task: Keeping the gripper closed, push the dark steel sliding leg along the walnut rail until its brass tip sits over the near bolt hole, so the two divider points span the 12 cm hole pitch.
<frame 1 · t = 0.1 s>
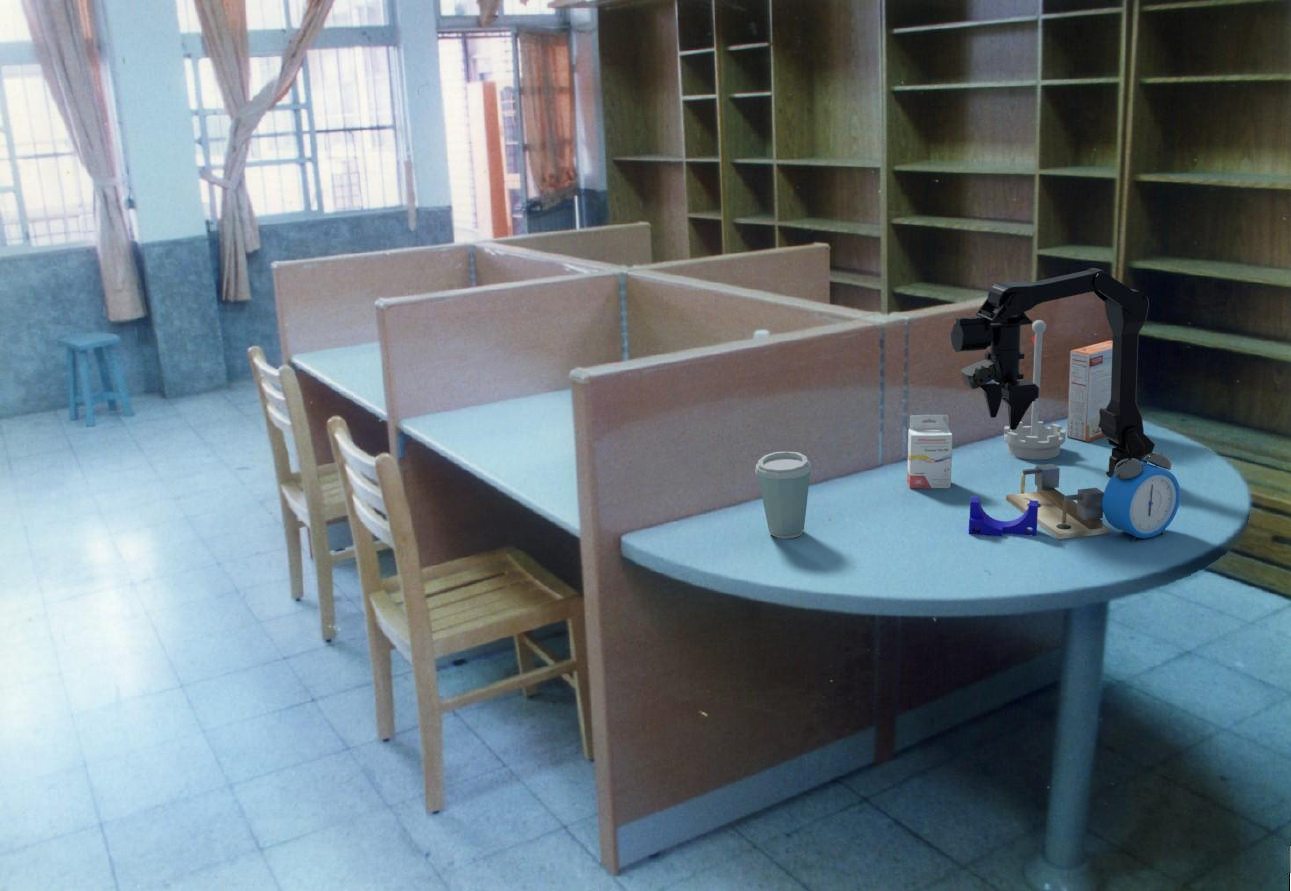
hand: (1002, 423, 238), 14 cm above the table, tool pointing down, fingers open, 9 cm apart
hole plate: (1055, 515, 228), on the table
cracker box: (1095, 434, 276), on the table
disposable coffee cup: (784, 534, 227), on the table
ink cartridge box: (929, 485, 249), on the table
alarm clock: (1138, 534, 217), on the table
blue cradle bracket: (1002, 534, 222), on the table
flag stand: (1033, 452, 266), on the table
sliding leg: (1038, 479, 235), point 4 cm above the table, slide at -5.0 cm
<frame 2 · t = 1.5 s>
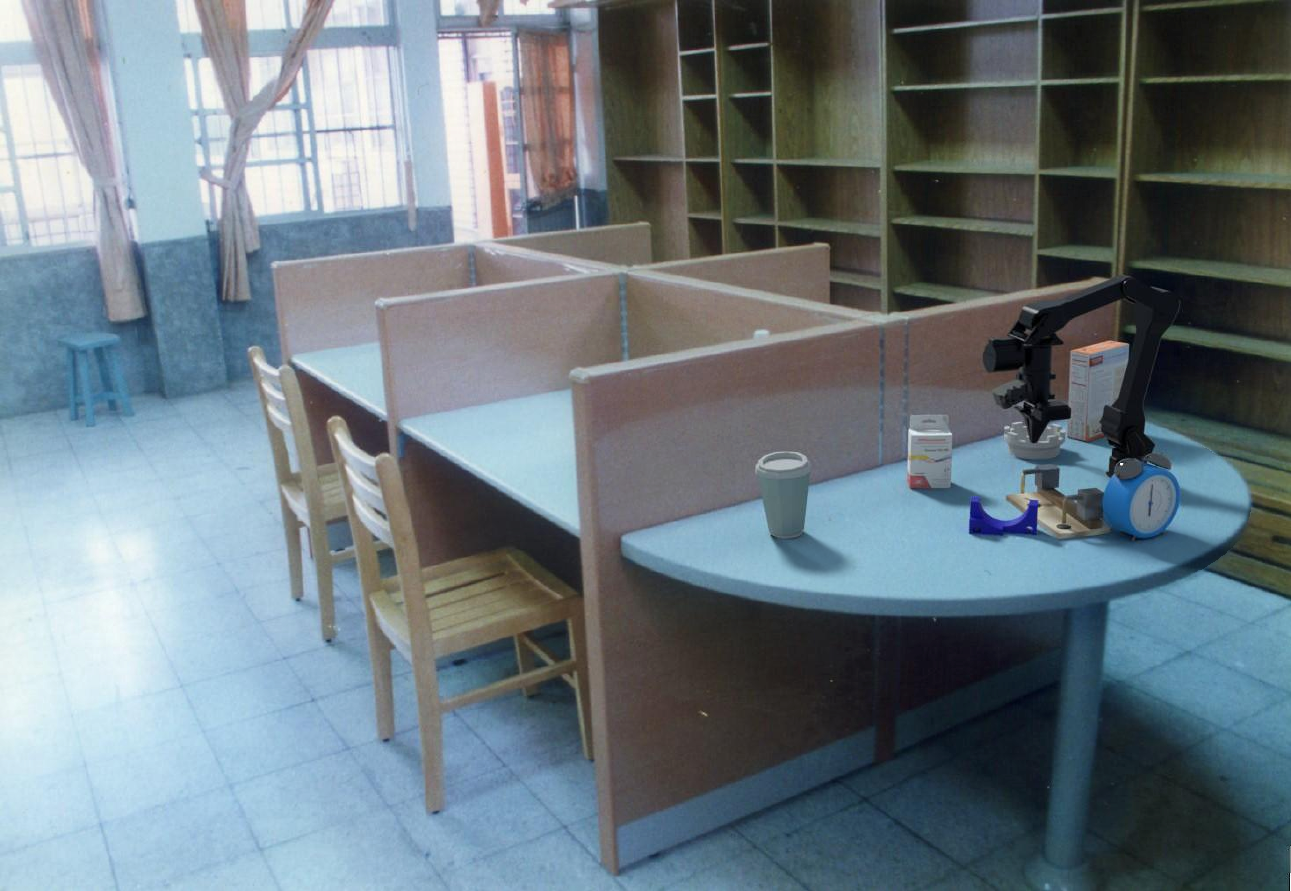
hand: (1033, 442, 240), 10 cm above the table, tool pointing down, fingers closed
nothing on the table moved.
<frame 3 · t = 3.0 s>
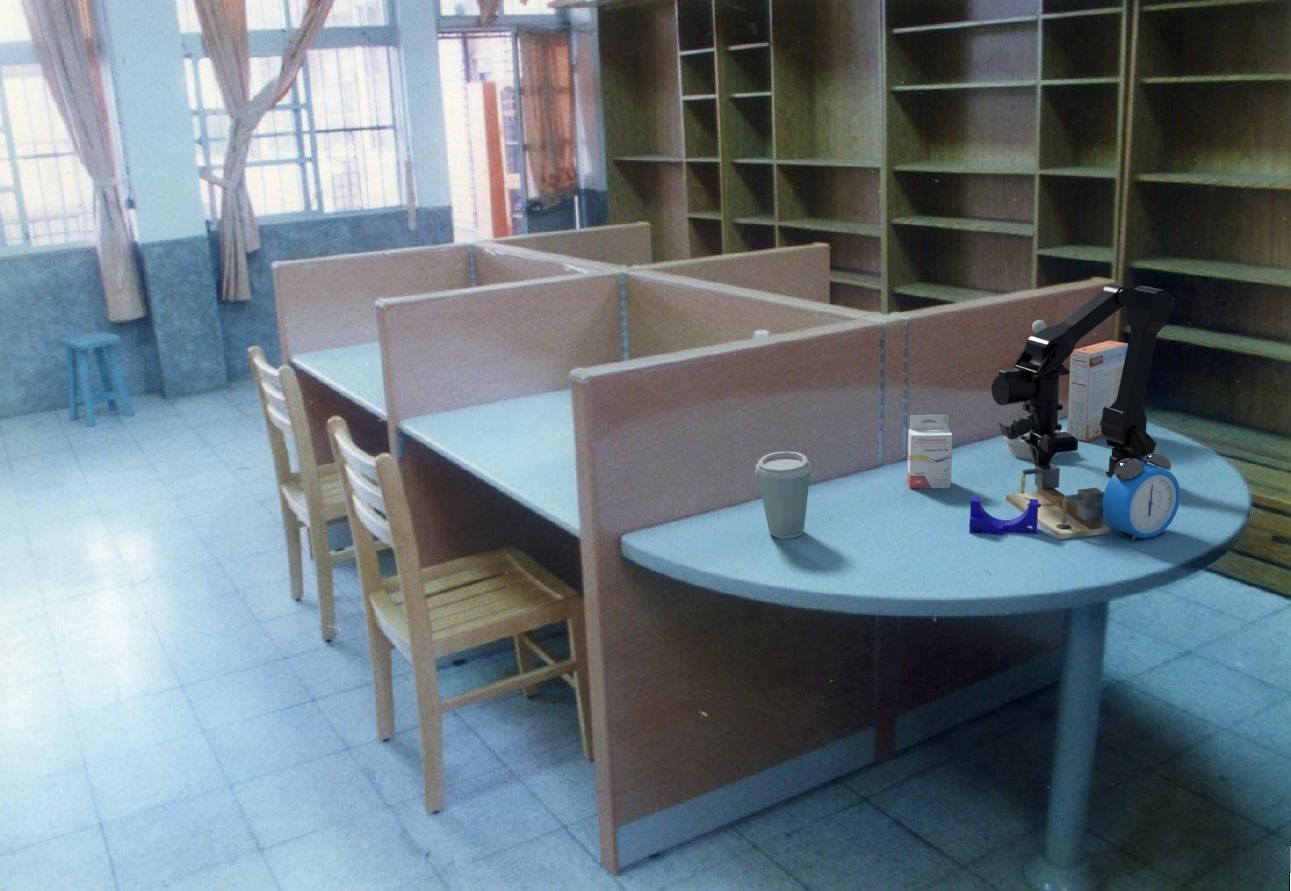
hand: (1040, 473, 238), 5 cm above the table, tool pointing down, fingers closed
sliding leg: (1038, 479, 235), point 4 cm above the table, slide at -5.0 cm, touching gripper
everything else where it was.
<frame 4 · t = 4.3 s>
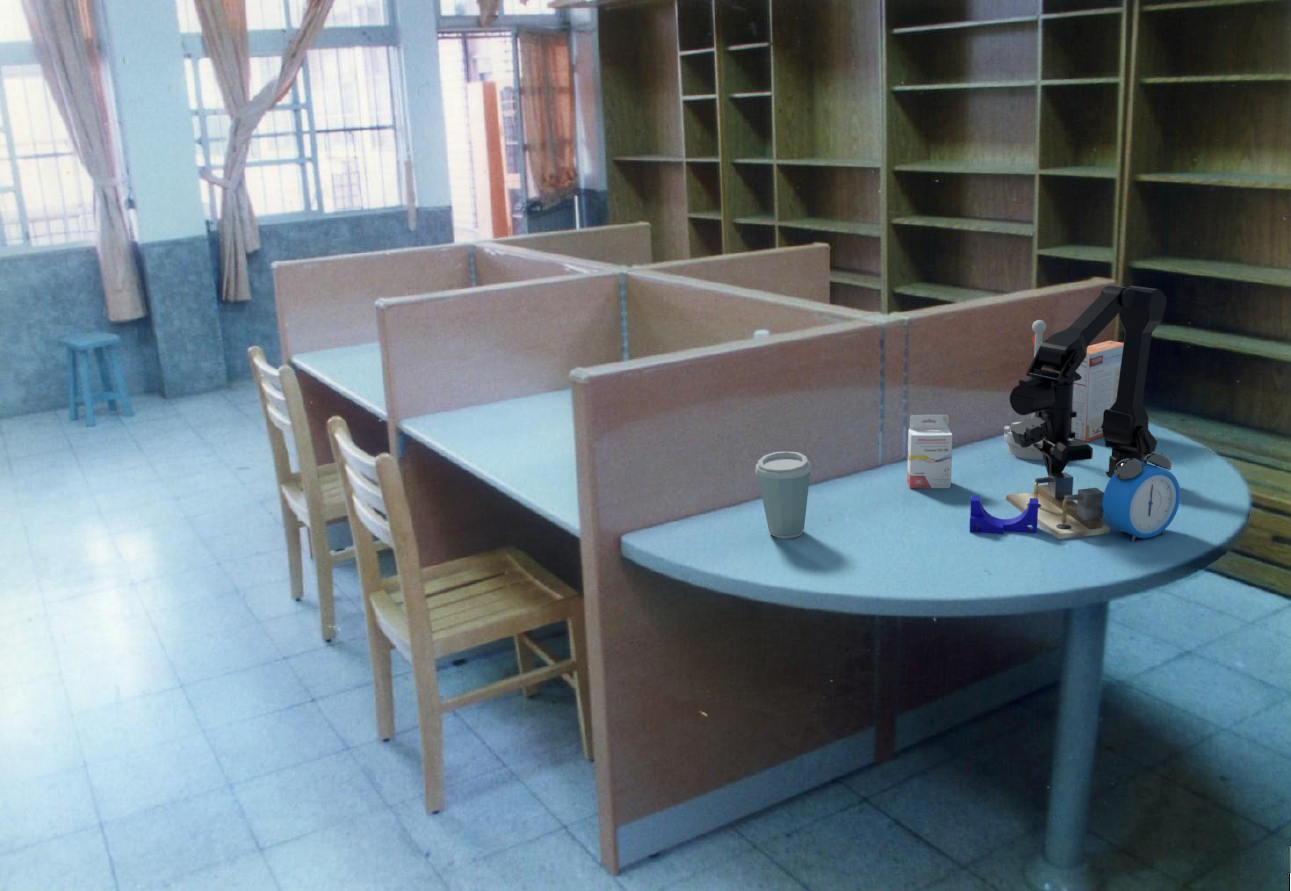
hand: (1052, 481, 233), 5 cm above the table, tool pointing down, fingers closed
sliding leg: (1051, 488, 230), point 4 cm above the table, slide at 0.5 cm, touching gripper
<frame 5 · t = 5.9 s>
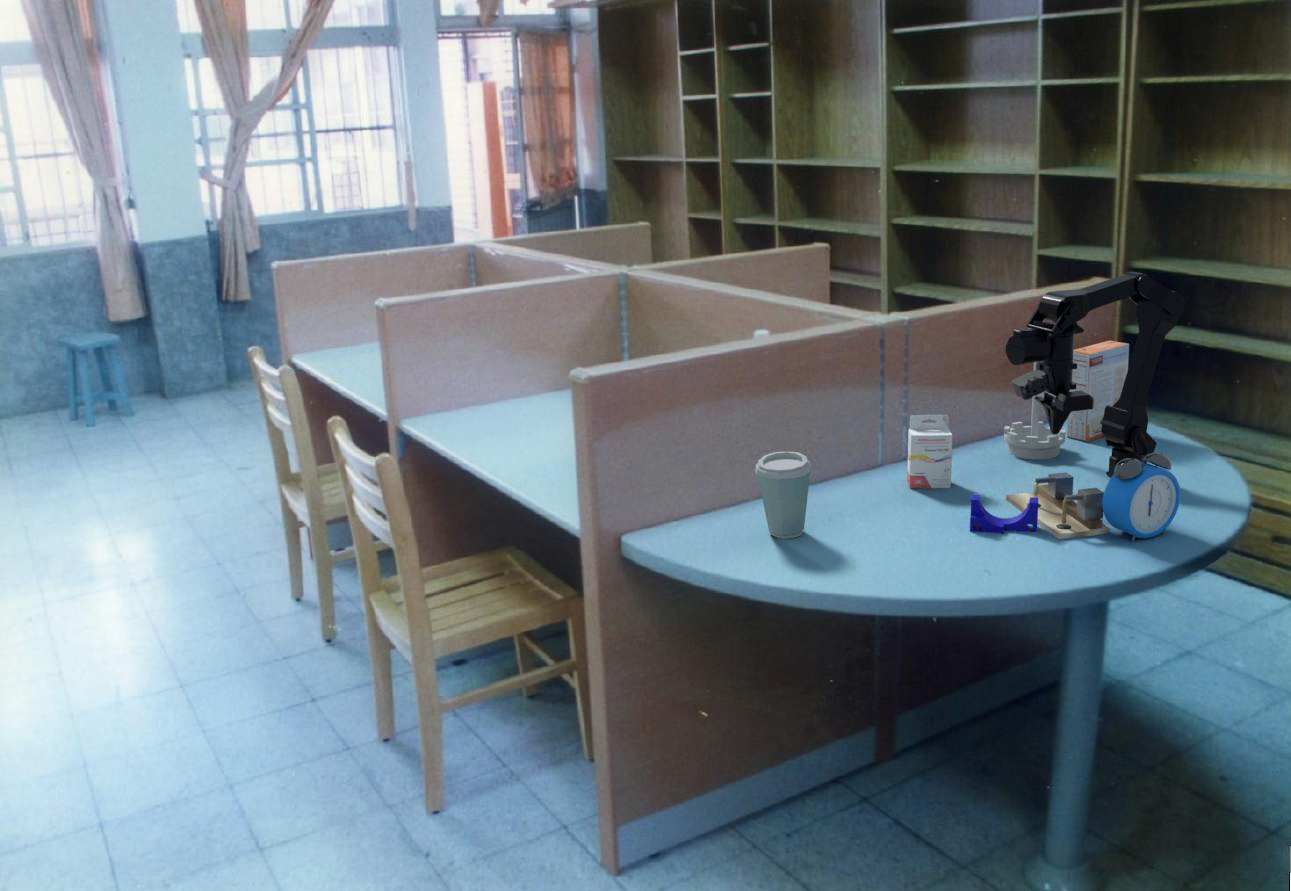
hand: (1054, 433, 236), 13 cm above the table, tool pointing down, fingers closed
sliding leg: (1051, 488, 230), point 4 cm above the table, slide at 0.5 cm
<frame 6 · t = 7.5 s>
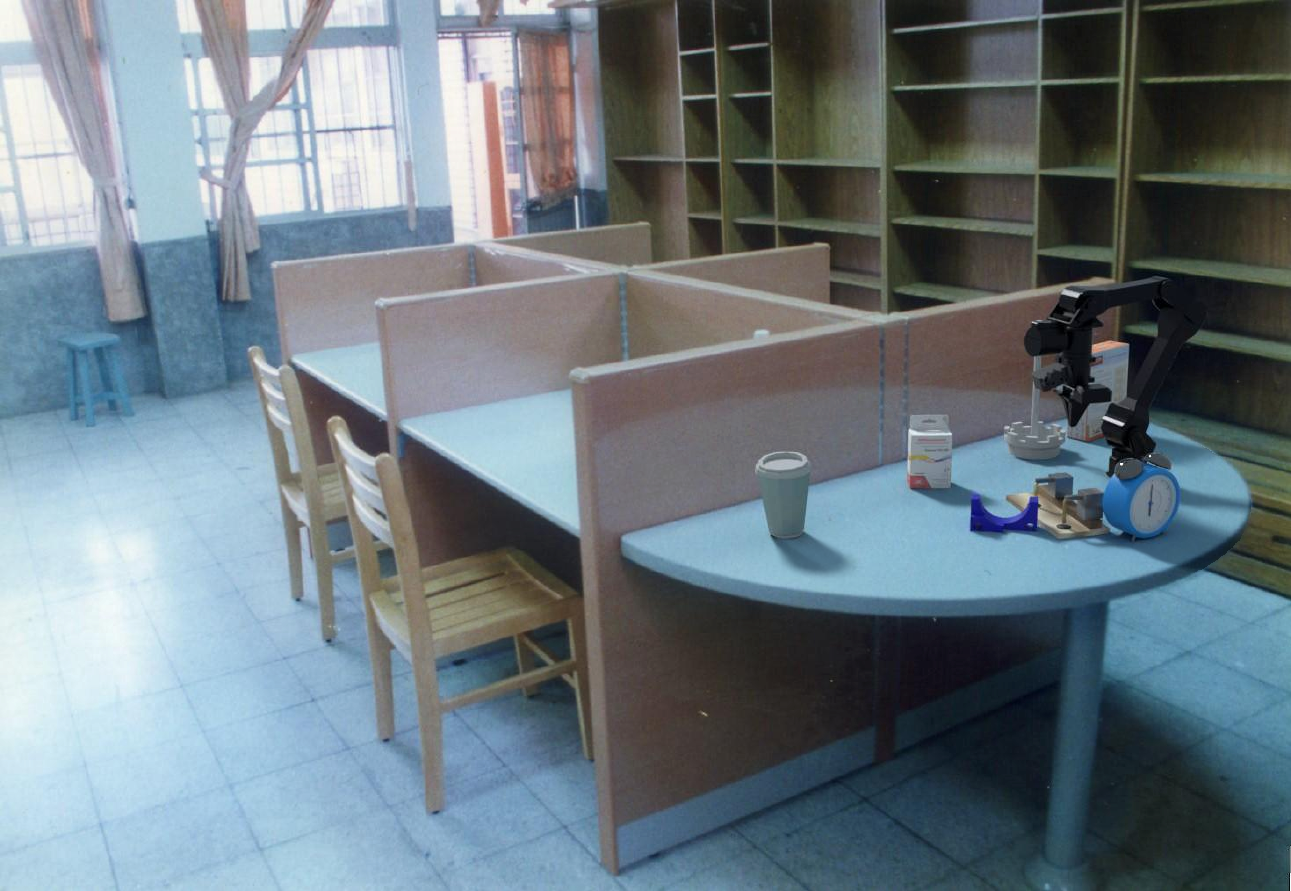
hand: (1072, 426, 238), 13 cm above the table, tool pointing down, fingers closed
at the end: sliding leg slide at 0.5 cm; the gripper is holding nothing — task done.
